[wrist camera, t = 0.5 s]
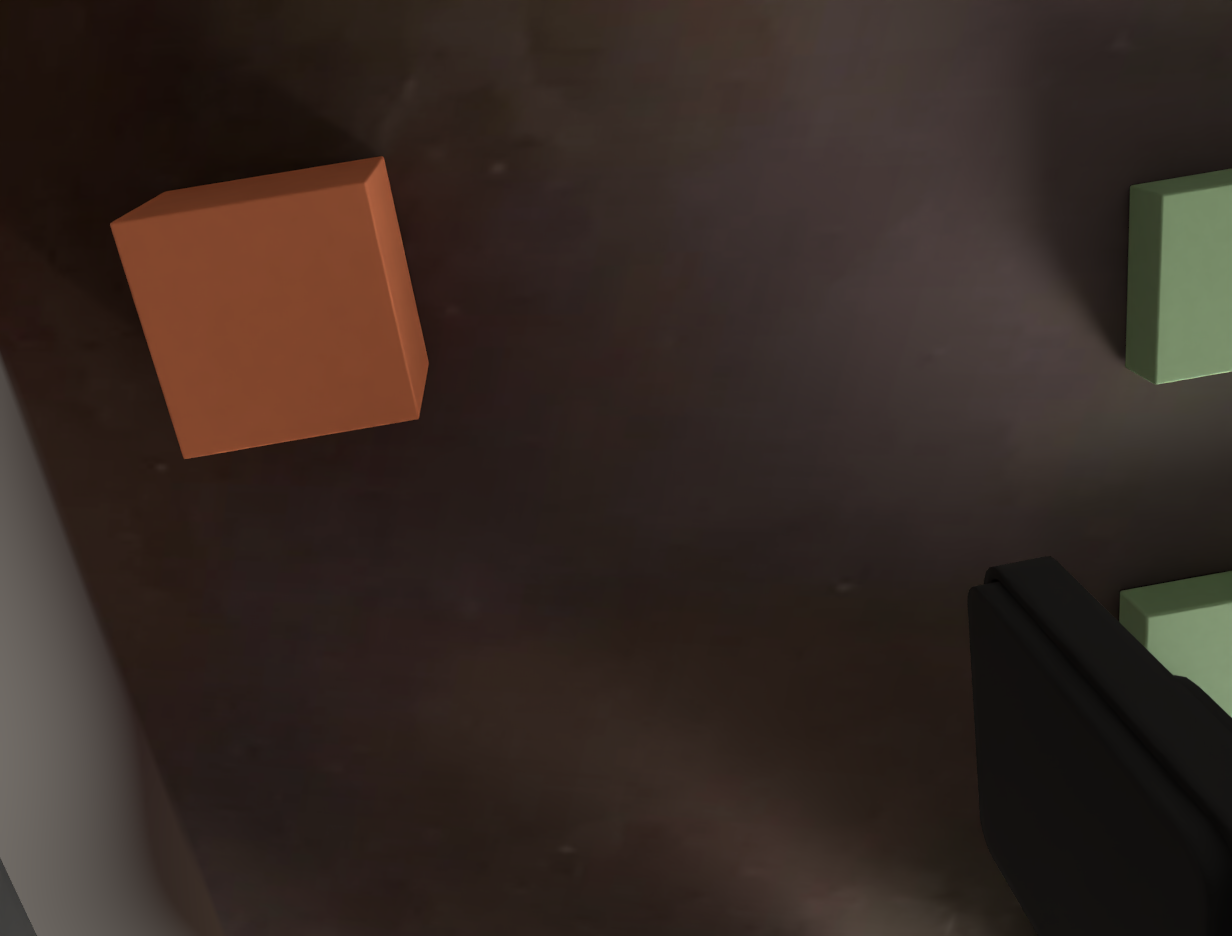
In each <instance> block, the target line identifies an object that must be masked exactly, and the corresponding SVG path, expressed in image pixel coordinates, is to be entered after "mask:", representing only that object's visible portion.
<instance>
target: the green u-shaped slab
mask: <svg viewBox="0 0 1232 936" xmlns="http://www.w3.org/2000/svg"><path fill="white" fill-rule="evenodd" d="M1125 366H1126V368H1128V369H1129V370H1131V371H1133V372H1134V373H1136V374H1138V375H1140V376H1141V377H1143V378H1145V379H1147V380H1148V381H1150V382H1152V383H1153V384H1162V383H1168V382H1173V381H1179V380H1185V379H1190V378H1196V377H1202V376H1208V375H1213V374H1219V373H1225V372H1231V371H1232V169H1226V170H1220V171H1214V172H1208V173H1202V174H1196V175H1190V176H1184V177H1178V178H1172V179H1166V180H1160V181H1154V182H1148V183H1142V184H1137V185H1132V186H1130V208H1129V247H1128V286H1127V325H1126V364H1125ZM1119 622H1120V623H1121V624H1122V625H1123V626H1124V627H1125V628H1126V629H1127V630H1128V631H1129V632H1130V633H1131V634H1132V635H1133V636H1134V637H1135V638H1136V639H1137V640H1138V641H1139V642H1140V643H1141V644H1142V645H1143V646H1144V647H1145V648H1146V649H1147V650H1148V651H1149V652H1150V653H1151V654H1152V655H1153V656H1154V657H1155V658H1156V659H1157V660H1158V661H1159V662H1160V663H1161V664H1162V665H1163V666H1164V667H1165V668H1166V669H1167V670H1168V671H1169V672H1170V673H1171V674H1172V675H1177V676H1183V677H1187V678H1188V679H1190V680H1191V681H1192V682H1194V683H1195V684H1196V685H1198V686H1199V687H1200V688H1201V689H1202V690H1203V691H1204V692H1205V693H1207V694H1208V695H1209V696H1210V697H1211V698H1212V699H1213V700H1214V701H1215V702H1216V703H1217V704H1218V705H1219V706H1220V707H1221V708H1222V709H1223V710H1224V711H1225V712H1226V713H1227V714H1228V715H1229V716H1230V717H1231V718H1232V571H1228V572H1222V573H1217V574H1211V575H1206V576H1200V577H1195V578H1189V579H1184V580H1178V581H1173V582H1167V583H1161V584H1156V585H1150V586H1145V587H1139V588H1134V589H1128V590H1123V591H1121V592H1120V613H1119Z"/></svg>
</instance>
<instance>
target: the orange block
mask: <svg viewBox="0 0 1232 936" xmlns="http://www.w3.org/2000/svg"><path fill="white" fill-rule="evenodd" d="M110 227H111V230H112V233H113V236H114V239H115V243H116V246H117V249H118V252H119V255H120V258H121V262H122V265H123V268H124V271H125V274H126V277H127V281H128V284H129V287H130V290H131V293H132V296H133V300H134V303H135V306H136V309H137V312H138V315H139V319H140V322H141V325H142V328H143V331H144V334H145V338H146V341H147V344H148V347H149V350H150V353H151V357H152V360H153V363H154V366H155V369H156V372H157V376H158V379H159V382H160V385H161V388H162V391H163V395H164V398H165V401H166V404H167V407H168V410H169V414H170V417H171V420H172V423H173V426H174V429H175V433H176V436H177V439H178V442H179V445H180V448H181V452H182V455H183V458H184V459H188V458H194V457H200V456H206V455H212V454H217V453H223V452H229V451H235V450H241V449H247V448H252V447H258V446H264V445H270V444H276V443H282V442H287V441H293V440H299V439H305V438H311V437H317V436H322V435H328V434H334V433H340V432H346V431H352V430H357V429H363V428H369V427H375V426H381V425H387V424H392V423H398V422H404V421H410V420H416V419H419V415H420V410H421V404H422V399H423V393H424V387H425V382H426V376H427V371H428V365H429V362H428V357H427V352H426V348H425V343H424V339H423V334H422V330H421V325H420V320H419V316H418V311H417V307H416V302H415V298H414V293H413V288H412V284H411V279H410V275H409V270H408V266H407V261H406V257H405V252H404V247H403V243H402V238H401V234H400V229H399V225H398V220H397V215H396V211H395V206H394V202H393V197H392V193H391V188H390V183H389V179H388V174H387V170H386V165H385V161H384V158H383V157H382V156H379V157H373V158H367V159H361V160H355V161H349V162H343V163H337V164H330V165H324V166H318V167H312V168H306V169H300V170H294V171H288V172H281V173H275V174H269V175H263V176H257V177H251V178H245V179H239V180H232V181H226V182H220V183H214V184H208V185H202V186H196V187H190V188H183V189H177V190H171V191H165V192H163V193H161V194H160V195H158V196H156V197H155V198H153V199H151V200H149V201H148V202H146V203H144V204H143V205H141V206H139V207H137V208H136V209H134V210H132V211H130V212H129V213H127V214H125V215H124V216H122V217H120V218H118V219H117V220H115V221H113V222H111V223H110Z"/></svg>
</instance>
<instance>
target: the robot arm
mask: <svg viewBox="0 0 1232 936" xmlns="http://www.w3.org/2000/svg"><path fill="white" fill-rule="evenodd" d="M968 618H969V635H970V653H971V670H972V687H973V705H974V722H975V739H976V757H977V774H978V791H979V809H980V820H981V826H982V830H983V834H984V838H985V841H986V844H987V846H988V849H989V852H990V854H991V856H992V858H993V859H994V861H995V863H996V865H997V866H998V868H999V870H1000V871H1001V873H1002V875H1003V877H1004V878H1005V880H1006V882H1007V883H1008V885H1009V887H1010V889H1011V890H1012V892H1013V894H1014V895H1015V897H1016V899H1017V900H1018V902H1019V904H1020V906H1021V907H1022V909H1023V911H1024V912H1025V914H1026V916H1027V918H1028V919H1029V921H1030V923H1031V924H1032V926H1033V928H1034V930H1035V931H1036V933H1037V935H1038V936H1232V718H1231V717H1230V716H1229V715H1228V714H1227V713H1226V712H1225V711H1224V710H1223V709H1222V708H1221V707H1220V706H1219V705H1218V704H1217V703H1216V702H1215V701H1214V700H1213V699H1212V698H1211V697H1210V696H1209V695H1208V694H1207V693H1205V692H1204V691H1203V690H1202V689H1201V688H1200V687H1199V686H1198V685H1196V684H1195V683H1194V682H1192V681H1191V680H1190V679H1188V678H1187V677H1183V676H1177V675H1172V674H1171V673H1170V672H1169V671H1168V670H1167V669H1166V668H1165V667H1164V666H1163V665H1162V664H1161V663H1160V662H1159V661H1158V660H1157V659H1156V658H1155V657H1154V656H1153V655H1152V654H1151V653H1150V652H1149V651H1148V650H1147V649H1146V648H1145V647H1144V646H1143V645H1142V644H1141V643H1140V642H1139V641H1138V640H1137V639H1136V638H1135V637H1134V636H1133V635H1132V634H1131V633H1130V632H1129V631H1128V630H1127V629H1126V628H1125V627H1124V626H1123V625H1122V624H1121V623H1120V622H1119V621H1118V620H1117V619H1116V618H1115V617H1113V616H1112V615H1111V614H1110V613H1109V612H1108V611H1107V610H1106V609H1105V608H1104V607H1103V606H1102V605H1101V604H1100V603H1099V602H1098V601H1097V600H1096V599H1095V598H1094V597H1093V596H1092V595H1091V594H1090V593H1089V592H1088V591H1087V590H1086V589H1085V588H1084V587H1083V586H1082V585H1081V584H1080V583H1079V582H1078V581H1077V580H1076V579H1075V578H1074V577H1073V576H1072V575H1071V574H1070V573H1069V572H1068V571H1067V570H1066V569H1065V568H1064V567H1063V566H1062V565H1061V564H1060V563H1059V562H1058V561H1056V560H1055V559H1054V558H1052V557H1051V556H1048V557H1040V558H1035V559H1030V560H1025V561H1020V562H1015V563H1010V564H1005V565H1000V566H995V567H990V568H989V569H988V570H987V571H986V574H985V578H984V585H979V586H973V587H971V588H970V590H969V593H968ZM0 936H37V935H36V933H35V931H34V929H33V927H32V925H31V922H30V920H29V918H28V916H27V914H26V912H25V910H24V908H23V905H22V903H21V901H20V899H19V897H18V895H17V893H16V891H15V888H14V887H13V884H12V882H11V880H10V878H9V876H8V874H7V872H6V869H5V867H4V865H3V863H2V861H1V859H0Z"/></svg>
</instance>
